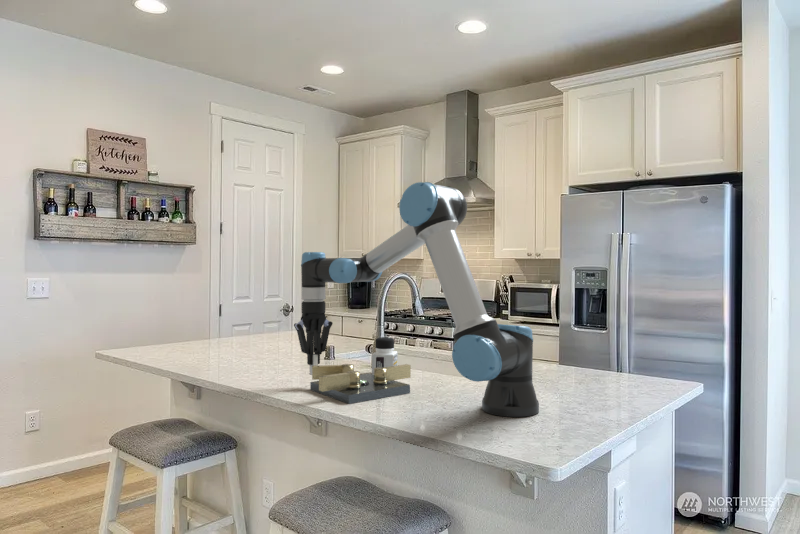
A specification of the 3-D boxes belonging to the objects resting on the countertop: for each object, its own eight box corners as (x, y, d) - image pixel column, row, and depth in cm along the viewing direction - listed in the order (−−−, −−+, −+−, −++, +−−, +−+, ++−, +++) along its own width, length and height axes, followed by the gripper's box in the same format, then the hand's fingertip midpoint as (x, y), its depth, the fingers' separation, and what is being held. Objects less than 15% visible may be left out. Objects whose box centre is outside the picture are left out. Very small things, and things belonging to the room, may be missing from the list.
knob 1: (355, 384, 176) (355, 370, 176) (363, 387, 173) (363, 372, 172) (316, 390, 168) (316, 375, 168) (324, 393, 164) (324, 378, 164)
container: (393, 376, 202) (393, 339, 201) (371, 376, 203) (371, 338, 203) (397, 372, 209) (397, 336, 209) (376, 371, 211) (376, 335, 210)
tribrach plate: (410, 393, 177) (410, 382, 177) (348, 403, 164) (348, 392, 164) (368, 381, 195) (368, 371, 195) (310, 390, 181) (310, 379, 181)
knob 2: (378, 384, 176) (378, 370, 176) (370, 382, 179) (370, 368, 179) (412, 379, 184) (412, 365, 184) (404, 376, 188) (404, 363, 187)
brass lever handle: (353, 377, 187) (353, 363, 187) (355, 379, 183) (355, 366, 183) (312, 378, 185) (312, 365, 185) (312, 381, 180) (312, 367, 180)
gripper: (325, 299, 192) (325, 370, 192) (289, 300, 184) (289, 375, 184) (337, 300, 186) (337, 374, 186) (300, 302, 178) (300, 379, 178)
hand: (313, 374), depth 185 cm, fingers closed
